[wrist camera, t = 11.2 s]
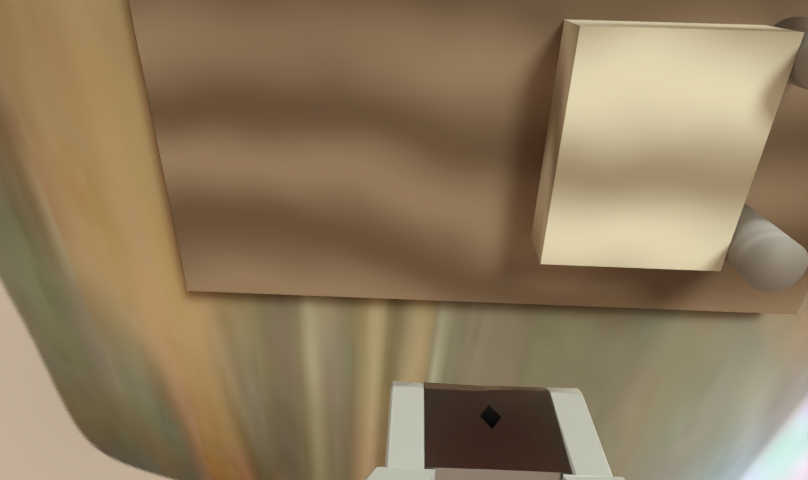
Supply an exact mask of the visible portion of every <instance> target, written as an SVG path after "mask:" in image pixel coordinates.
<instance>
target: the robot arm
mask: <svg viewBox="0 0 808 480" xmlns="http://www.w3.org/2000/svg"><path fill="white" fill-rule="evenodd" d="M365 480H626V479H624V478H623V477H613V476H612V473H611V470H610V468H609V465H608V462H607V460H606V457H605V454H604V451H603V449H602V446H601V443H600V440H599V438H598V435H597V432H596V430H595V427H594V424H593V421H592V419H591V416H590V413H589V411H588V408H587V405H586V402H585V400H584V397H583V394H582V393H581V391H580V390H579V389H578V388H541V387H507V386H473V385H457V384H442V383H426V382H424V386H423V383H414V382H400V381H393V382H392V386H391V393H390V407H389V421H388V435H387V449H386V463H385V467H375V468H374V469H373V470H372V472H371V473H370V474H369V475H368V476H367V478H366V479H365Z"/></svg>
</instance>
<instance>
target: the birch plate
mask: <svg viewBox="0 0 808 480" xmlns="http://www.w3.org/2000/svg"><path fill="white" fill-rule="evenodd" d="M804 33H805V32H799V31H794V30H789V29H783V28H778V27H773V26H767V25H744V24H709V23H674V22H639V21H604V20H569V19H564V25H563V31H562V38H561V45H560V51H559V58H558V64H557V71H556V77H555V84H554V91H553V97H552V104H551V110H550V117H549V123H548V130H547V136H546V143H545V150H544V156H543V163H542V169H541V176H540V182H539V189H538V196H537V202H536V209H535V215H534V222H533V228H532V235H531V240H532V243H533V245H534V248H535V251H536V253H537V256H538V259H539V261H540V264H549V265H574V266H600V267H625V268H650V269H675V270H700V271H721V268H722V266H723V263H724V260H725V257H726V254H727V251H728V249H729V246H730V243H731V240H732V237H733V234H734V232H735V229H736V226H737V223H738V220H739V217H740V214H741V212H742V209H743V206H744V203H745V200H746V197H747V195H748V192H749V189H750V186H751V183H752V180H753V178H754V175H755V172H756V169H757V166H758V163H759V161H760V158H761V155H762V152H763V149H764V146H765V143H766V141H767V138H768V135H769V132H770V129H771V126H772V124H773V121H774V118H775V115H776V112H777V109H778V107H779V104H780V101H781V98H782V95H783V92H784V90H785V87H786V84H787V81H788V78H789V75H790V73H791V70H792V67H793V64H794V61H795V58H796V55H797V53H798V50H799V47H800V44H801V41H802V38H803V36H804Z"/></svg>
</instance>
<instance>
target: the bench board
mask: <svg viewBox="0 0 808 480" xmlns="http://www.w3.org/2000/svg"><path fill="white" fill-rule="evenodd" d="M129 5H130V10H131V15H132V20H133V25H134V30H135V35H136V40H137V45H138V50H139V55H140V60H141V64H142V69H143V74H144V79H145V84H146V89H147V94H148V99H149V104H150V109H151V114H152V119H153V123H154V128H155V133H156V138H157V143H158V148H159V153H160V158H161V163H162V168H163V173H164V178H165V183H166V187H167V192H168V197H169V202H170V207H171V212H172V217H173V222H174V227H175V232H176V237H177V242H178V246H179V251H180V256H181V261H182V266H183V271H184V276H185V281H186V286H187V291H204V292H230V293H256V294H281V295H307V296H333V297H359V298H385V299H410V300H436V301H462V302H488V303H514V304H539V305H565V306H591V307H617V308H643V309H669V310H694V311H720V312H746V313H772V314H797V312H798V310H799V307H800V305H801V303H802V301H803V298H804V296H805V294H806V292H807V289H808V0H129ZM564 19H569V20H604V21H639V22H674V23H709V24H744V25H767V26H773V27H778V28H783V29H789V30H794V31H799V32H805V33H804V36H803V38H802V41H801V44H800V47H799V50H798V53H797V55H796V58H795V61H794V64H793V67H792V70H791V73H790V75H789V78H788V81H787V84H786V87H785V90H784V92H783V95H782V98H781V101H780V104H779V107H778V109H777V112H776V115H775V118H774V121H773V124H772V126H771V129H770V132H769V135H768V138H767V141H766V143H765V146H764V149H763V152H762V155H761V158H760V161H759V163H758V166H757V169H756V172H755V175H754V178H753V180H752V183H751V186H750V189H749V192H748V195H747V197H746V200H745V203H744V206H743V209H742V212H741V214H740V217H739V220H738V223H737V226H736V229H735V232H734V234H733V237H732V240H731V243H730V246H729V249H728V251H727V254H726V257H725V260H724V263H723V266H722V268H721V271H700V270H675V269H650V268H625V267H600V266H574V265H549V264H540V261H539V259H538V256H537V253H536V251H535V248H534V245H533V243H532V240H531V235H532V228H533V222H534V215H535V209H536V202H537V196H538V189H539V182H540V176H541V169H542V163H543V156H544V150H545V143H546V136H547V130H548V123H549V117H550V110H551V104H552V97H553V91H554V84H555V77H556V71H557V64H558V58H559V51H560V45H561V38H562V31H563V25H564Z"/></svg>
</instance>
